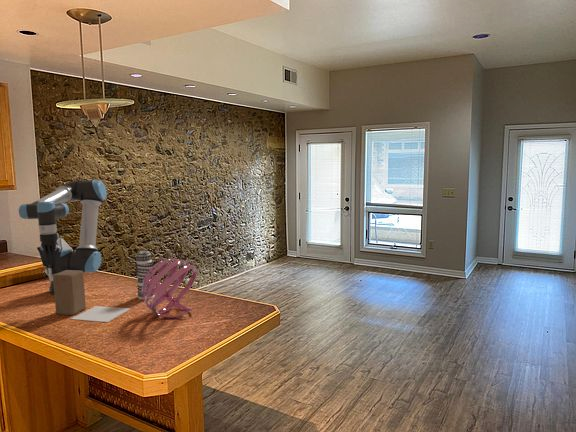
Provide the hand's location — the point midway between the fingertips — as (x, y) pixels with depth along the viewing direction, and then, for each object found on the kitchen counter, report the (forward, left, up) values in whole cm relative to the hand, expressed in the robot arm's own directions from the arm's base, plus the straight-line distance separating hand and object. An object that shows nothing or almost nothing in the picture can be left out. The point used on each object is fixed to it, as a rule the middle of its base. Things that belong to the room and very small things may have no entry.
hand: (52, 280), depth 216 cm
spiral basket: (-8, +59, -16) cm, 62 cm away
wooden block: (0, +9, -16) cm, 18 cm away
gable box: (-61, -52, -16) cm, 82 cm away
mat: (0, +26, -16) cm, 31 cm away
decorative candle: (-28, +33, -16) cm, 46 cm away
